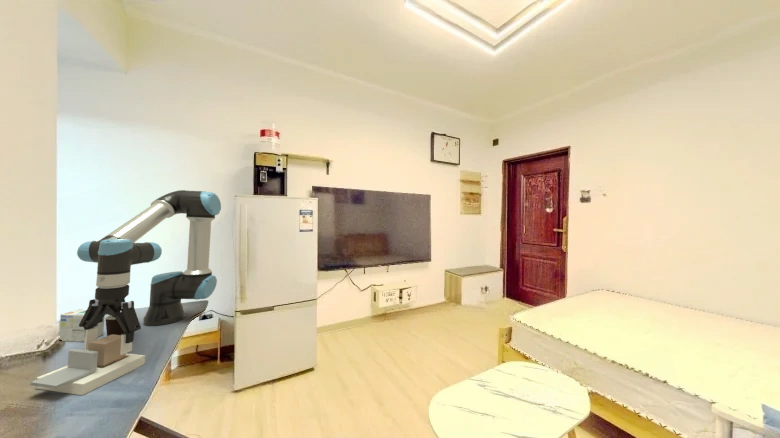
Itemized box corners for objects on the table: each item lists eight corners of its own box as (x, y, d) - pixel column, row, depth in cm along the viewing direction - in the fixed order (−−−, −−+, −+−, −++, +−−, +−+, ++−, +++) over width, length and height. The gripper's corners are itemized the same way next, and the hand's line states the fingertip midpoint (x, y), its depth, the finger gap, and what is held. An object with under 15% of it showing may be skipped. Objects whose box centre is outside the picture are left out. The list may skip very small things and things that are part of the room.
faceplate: (104, 359, 88) (105, 350, 88) (144, 364, 86) (145, 355, 86) (35, 388, 72) (36, 377, 72) (82, 395, 70) (83, 384, 70)
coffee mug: (113, 346, 96) (115, 320, 97) (97, 343, 98) (99, 317, 98) (148, 334, 108) (150, 310, 108) (133, 331, 109) (134, 308, 110)
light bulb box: (104, 335, 105) (106, 309, 106) (85, 342, 99) (87, 315, 99) (77, 334, 105) (80, 308, 105) (57, 341, 98) (59, 314, 98)
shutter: (72, 367, 77) (74, 348, 77) (96, 370, 76) (97, 351, 76) (30, 385, 68) (32, 363, 69) (56, 388, 67) (57, 367, 68)
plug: (109, 362, 85) (111, 334, 85) (125, 364, 84) (127, 336, 85) (86, 372, 79) (88, 342, 79) (102, 374, 78) (105, 344, 79)
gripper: (65, 285, 80) (60, 352, 80) (133, 291, 77) (127, 360, 77) (95, 280, 88) (90, 341, 87) (158, 285, 85) (153, 348, 84)
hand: (108, 350), depth 82 cm, fingers open, 13 cm apart
